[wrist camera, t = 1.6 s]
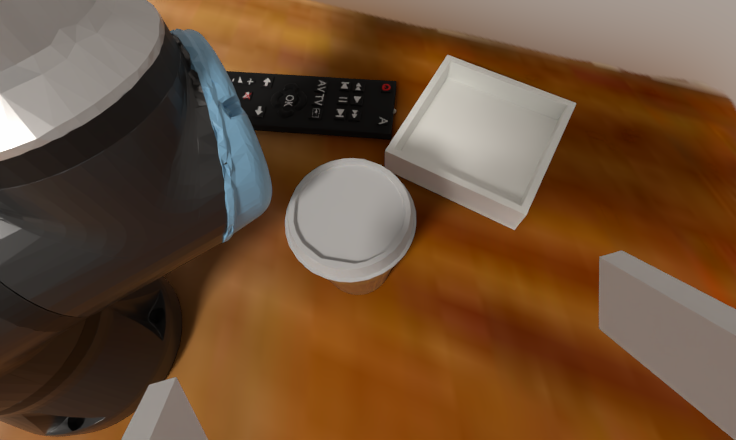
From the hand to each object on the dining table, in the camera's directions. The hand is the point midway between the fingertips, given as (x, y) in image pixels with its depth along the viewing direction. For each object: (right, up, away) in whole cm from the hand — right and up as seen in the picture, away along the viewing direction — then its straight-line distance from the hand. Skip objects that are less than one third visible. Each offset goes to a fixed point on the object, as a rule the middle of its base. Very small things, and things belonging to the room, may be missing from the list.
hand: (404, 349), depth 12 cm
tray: (+11, +12, +31) cm, 35 cm away
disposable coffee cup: (-2, 0, +26) cm, 26 cm away
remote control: (-14, +18, +35) cm, 42 cm away
